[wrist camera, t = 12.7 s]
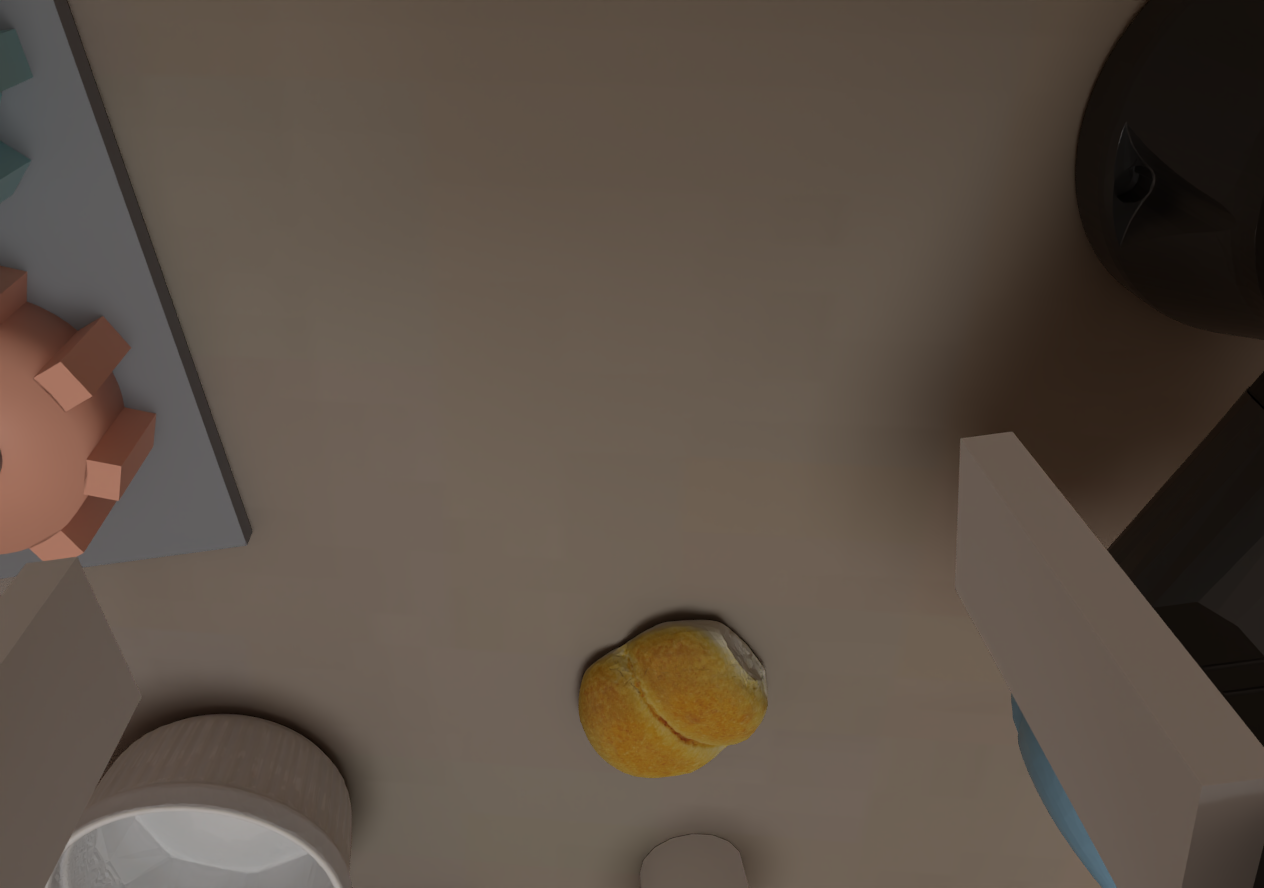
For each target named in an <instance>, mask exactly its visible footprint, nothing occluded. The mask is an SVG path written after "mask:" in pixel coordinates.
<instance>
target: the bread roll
mask: <svg viewBox="0 0 1264 888" xmlns="http://www.w3.org/2000/svg"><path fill="white" fill-rule="evenodd" d="M767 696H768V689H767V684H766V676H765V669H764V668H763V666H762V665H761V663H760V662H759V660H758V659H757V658H756V656H755V655H754V654H753V652H752V651H751V650H750V648H749V647H748V646H747V645H746V643H745V642H744V641H743V640H741V639H740V638H739V637H738V636H737V635H736V634H735V633H734V632H732V631H731V630H730V629H729V628H728V627H727V626H725V625H724V624H722V623H720V622H718V621H712V620H681V621H670V622H664V623H661V624H658V625H656V626H654V627H652V628H650V629H648V630H645V631H644V632H642V633H640V634H639V635H637V636H636V637H635V638H633V639H631V640H629V641H628V642H627V643H626V644H624V645H623V646H621V647H619V648H616V649H614V650H612V651H610V652H609V653H607V654H606V655H604V656H603V657H602V658H600V659H598V660H597V661H596V662H594V663H593V664H592V665H591V666H590V667H589V668H588V669H587V670H586V671H585V673H584V675H583V679H582V682H581V687H580V692H579V716H580V721H581V723H582V726H583V729H584V731H585V733H586V736H587V738H588V740H589V741H590V743H591V745H592V746H593V748H594V749H595V751H596V752H597V753H598V754H599V755H600V756H601V757H602V758H603V759H604V760H605V761H606V762H607V763H609V764H610V765H612V766H613V767H615V768H616V769H618V770H620V771H622V772H624V773H627V774H630V775H633V776H637V777H645V778H660V777H668V776H676V775H682V774H686V773H691V772H693V771H695V770H697V769H699V768H700V767H702V766H703V765H705V764H706V763H708V762H709V761H711V760H712V759H713V758H714V757H716V756H717V755H718V754H719V753H720V752H721V751H722V750H723V749H724V748H726V747H727V746H728V745H733V744H737V743H739V742H742V741H744V740H746V739H748V738H749V737H750V736H751V735H752V734H753V733H754V732H755V730H756V729H757V727H758V726H759V725H760V723H761V722H762V720H763V718H764V716H765V713H766V710H767V706H768V702H767Z"/></svg>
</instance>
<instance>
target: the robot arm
mask: <svg viewBox="0 0 1264 888" xmlns="http://www.w3.org/2000/svg"><path fill="white" fill-rule="evenodd" d="M1076 193H1077V201H1078V207H1079V212H1080V216H1081V220H1082V223H1083V227H1084V230H1085V232H1086V235H1087V237H1088V240H1089V242H1090V244H1091V246H1092V248H1093V250H1094V252H1095V253H1096V255H1097V256H1098V258H1099V259H1100V261H1101V263H1102V264H1103V265H1104V266H1105V268H1106V269H1107V270H1108V271H1109V273H1110V274H1111V275H1112V276H1113V277H1114V278H1115V279H1116V280H1117V281H1118V282H1120V283H1121V284H1122V285H1123V286H1125V287H1126V288H1127V289H1128V290H1130V291H1131V292H1132V293H1134V294H1135V295H1137V296H1138V297H1139V298H1141V299H1142V300H1143V301H1145V302H1146V303H1148V304H1149V305H1150V306H1152V307H1153V308H1155V309H1156V310H1158V311H1159V312H1161V313H1163V314H1165V315H1166V316H1168V317H1170V318H1172V319H1175V320H1177V321H1179V322H1182V323H1184V324H1187V325H1189V326H1192V327H1196V328H1199V329H1203V330H1207V331H1211V332H1217V333H1223V334H1229V335H1236V336H1242V337H1248V338H1255V339H1261V340H1264V0H1150V1H1149V2H1148V3H1147V4H1146V6H1145V7H1144V8H1143V9H1142V10H1141V11H1140V13H1139V14H1138V15H1137V17H1136V18H1135V19H1134V20H1133V22H1132V23H1131V24H1130V26H1129V27H1128V29H1127V30H1126V31H1125V33H1124V34H1123V36H1122V37H1121V39H1120V40H1119V42H1118V43H1117V45H1116V47H1115V48H1114V50H1113V52H1112V53H1111V55H1110V57H1109V59H1108V60H1107V62H1106V64H1105V66H1104V68H1103V70H1102V72H1101V74H1100V76H1099V78H1098V81H1097V83H1096V85H1095V87H1094V90H1093V93H1092V95H1091V98H1090V100H1089V103H1088V106H1087V110H1086V113H1085V116H1084V119H1083V124H1082V128H1081V132H1080V137H1079V143H1078V149H1077V159H1076ZM955 590H956V592H957V593H958V595H959V597H960V599H961V601H962V603H963V605H964V606H965V608H966V610H967V612H968V614H969V616H970V617H971V619H972V621H973V623H974V625H975V627H976V629H977V630H978V632H979V634H980V636H981V638H982V640H983V641H984V643H985V645H986V647H987V649H988V651H989V652H990V654H991V656H992V658H993V660H994V662H995V664H996V665H997V667H998V669H999V671H1000V673H1001V675H1002V676H1003V678H1004V680H1005V682H1006V684H1007V686H1008V687H1009V689H1010V691H1011V703H1012V710H1013V720H1014V723H1015V726H1016V728H1017V731H1018V744H1019V747H1020V751H1021V754H1022V757H1023V760H1024V762H1025V765H1026V768H1027V770H1028V772H1029V775H1030V777H1031V779H1032V781H1033V783H1034V785H1035V787H1036V790H1037V792H1038V794H1039V795H1040V797H1041V799H1042V801H1043V803H1044V805H1045V807H1046V809H1047V810H1048V812H1049V814H1050V816H1051V817H1052V819H1053V821H1054V822H1055V824H1056V825H1057V827H1058V829H1059V830H1060V832H1061V833H1062V835H1063V836H1064V837H1065V839H1066V840H1067V842H1068V843H1069V845H1070V846H1071V848H1072V849H1073V851H1074V852H1075V853H1076V855H1077V856H1078V857H1079V859H1080V860H1081V861H1082V863H1083V864H1084V865H1085V867H1086V868H1087V869H1088V871H1089V872H1090V873H1091V875H1092V876H1093V877H1094V879H1095V880H1096V881H1097V882H1098V883H1099V884H1100V886H1101V887H1102V888H1264V371H1263V373H1262V374H1261V375H1260V376H1259V377H1258V378H1257V379H1256V381H1255V382H1254V383H1253V384H1252V385H1251V386H1250V387H1249V388H1247V390H1246V391H1245V392H1244V393H1243V394H1242V395H1241V397H1240V398H1239V399H1238V400H1237V401H1236V403H1235V404H1234V405H1233V406H1232V407H1231V408H1230V410H1229V411H1228V412H1227V413H1226V414H1225V416H1224V417H1223V418H1222V419H1221V420H1220V422H1219V423H1218V424H1217V425H1216V426H1215V427H1214V429H1213V430H1212V431H1211V432H1210V433H1209V434H1208V435H1207V437H1206V438H1205V439H1204V440H1203V441H1202V442H1201V443H1200V444H1199V446H1198V447H1197V448H1196V449H1195V450H1194V451H1193V452H1192V454H1191V455H1190V456H1189V457H1188V458H1187V459H1186V460H1185V462H1184V463H1183V464H1182V465H1181V466H1180V467H1179V468H1178V469H1177V471H1176V472H1175V473H1174V474H1173V475H1172V476H1171V477H1170V479H1169V480H1168V481H1167V482H1166V483H1165V484H1164V485H1163V486H1162V488H1161V489H1160V490H1159V491H1158V492H1157V493H1156V494H1155V496H1154V497H1153V498H1152V499H1151V500H1150V501H1149V502H1148V504H1147V505H1146V506H1145V507H1144V508H1143V509H1142V510H1141V511H1140V513H1139V514H1138V515H1137V516H1136V517H1135V518H1134V519H1133V521H1132V522H1131V523H1130V524H1129V525H1128V526H1127V527H1126V528H1125V530H1124V531H1123V532H1122V533H1121V534H1120V535H1119V536H1118V538H1117V539H1116V540H1115V541H1114V542H1113V543H1112V544H1111V546H1110V547H1109V548H1108V549H1107V550H1106V548H1105V547H1104V546H1103V545H1102V543H1101V542H1100V541H1099V540H1098V538H1097V537H1096V536H1095V535H1094V533H1093V532H1092V531H1091V530H1090V528H1089V527H1088V526H1087V525H1086V523H1085V522H1084V521H1083V520H1082V518H1081V517H1080V516H1079V515H1078V513H1077V512H1076V511H1075V509H1074V508H1073V507H1072V506H1071V504H1070V503H1069V502H1068V501H1067V499H1066V498H1065V497H1064V496H1063V494H1062V493H1061V492H1060V491H1059V489H1058V488H1057V487H1056V486H1055V484H1054V483H1053V482H1052V481H1051V479H1050V478H1049V477H1048V476H1047V474H1046V473H1045V472H1044V471H1043V469H1042V468H1041V467H1040V466H1039V464H1038V463H1037V462H1036V460H1035V459H1034V458H1033V457H1032V455H1031V454H1030V453H1029V452H1028V450H1027V449H1026V448H1025V447H1024V445H1023V444H1022V443H1021V442H1020V440H1019V439H1018V438H1017V437H1016V435H1015V434H1014V433H1013V432H1005V433H997V434H990V435H982V436H975V437H967V438H960V463H959V491H958V518H957V545H956V573H955ZM141 698H142V695H141V693H140V691H139V689H138V686H137V684H136V682H135V680H134V678H133V676H132V674H131V671H130V669H129V667H128V665H127V663H126V661H125V659H124V656H123V654H122V652H121V650H120V648H119V646H118V643H117V641H116V639H115V637H114V635H113V633H112V631H111V628H110V626H109V624H108V622H107V620H106V618H105V615H104V613H103V611H102V609H101V607H100V605H99V603H98V600H97V598H96V596H95V594H94V592H93V590H92V587H91V585H90V583H89V581H88V579H87V577H86V575H85V572H84V570H83V568H82V566H81V564H80V562H79V559H78V557H71V558H63V559H56V560H48V561H41V562H33V563H26V564H25V565H24V567H23V568H22V569H21V571H20V572H19V573H18V575H17V576H16V577H15V578H14V580H13V581H12V582H11V584H10V585H9V586H8V587H7V589H6V590H5V591H4V593H3V594H2V595H1V596H0V888H45V886H46V884H47V882H48V880H49V878H50V876H51V874H52V872H53V870H54V868H55V866H56V864H57V862H58V860H59V858H60V857H61V855H62V853H63V851H64V849H65V847H66V845H67V843H68V841H69V839H70V837H71V835H72V833H73V831H74V829H75V827H76V825H77V823H78V821H79V819H80V817H81V815H82V813H83V811H84V809H85V808H86V806H87V804H88V802H89V800H90V798H91V796H92V794H93V792H94V790H95V788H96V786H97V784H98V782H99V780H100V778H101V776H102V774H103V772H104V770H105V768H106V766H107V764H108V762H109V760H110V758H111V757H112V755H113V753H114V751H115V749H116V747H117V745H118V743H119V741H120V739H121V737H122V735H123V733H124V731H125V729H126V727H127V725H128V723H129V721H130V719H131V717H132V715H133V713H134V711H135V709H136V708H137V706H138V704H139V702H140V700H141Z"/></svg>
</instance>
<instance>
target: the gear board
mask: <svg viewBox="0 0 1264 888" xmlns="http://www.w3.org/2000/svg"><path fill="white" fill-rule="evenodd" d="M9 29H15V30H16V32H17V35H18V38H19V40H20V43H21V45H22V48H23V51H24V53H25V56H26V59H27V61H28V64H29V67H30V69H31V72H32V75H33V78H30V79H28V80H26V81H24V82H22V83H19V84H17V85H15V86H13V87H11V88H8V89H6V90H4V91H2V92H1V93H2V96H1V102H0V141H1V142H3V143H5V144H6V145H8V146H9V147H11V148H13V149H14V150H16V151H17V152H19V153H21V154H22V155H24V156H25V157H27V158H29V159H30V160H31V162H30V164H29V166H28V168H27V169H26V171H25V173H24V175H23V177H22V179H21V180H20V182H19V184H18V186H17V188H16V190H15V191H14V193H13V195H11V196H10V197H8V198H7V199H5V200H4V201H2V202H1V203H0V578H8V577H15V576H17V575H18V573H19V572H20V571H21V569H22V568H23V567H24V565H25V564H26V563H33V562H41V561H48V560H56V559H63V558H71V557H78V559H79V562H80V564H81V566H82V567H90V566H97V565H105V564H112V563H120V562H127V561H134V560H142V559H149V558H157V557H164V556H172V555H179V554H187V553H194V552H202V551H209V550H217V549H224V548H231V547H239V546H246V545H247V544H248V541H249V539H250V537H251V534H252V529H251V527H250V524H249V521H248V518H247V515H246V512H245V509H244V507H243V504H242V501H241V498H240V495H239V492H238V489H237V487H236V484H235V481H234V478H233V475H232V472H231V469H230V466H229V464H228V461H227V458H226V455H225V452H224V449H223V446H222V444H221V441H220V438H219V435H218V432H217V429H216V426H215V424H214V421H213V418H212V415H211V412H210V409H209V406H208V403H207V401H206V398H205V395H204V392H203V389H202V386H201V383H200V381H199V378H198V375H197V372H196V369H195V366H194V363H193V361H192V358H191V355H190V352H189V349H188V346H187V343H186V340H185V338H184V335H183V332H182V329H181V326H180V323H179V320H178V318H177V315H176V312H175V309H174V306H173V303H172V300H171V298H170V295H169V292H168V289H167V286H166V283H165V280H164V277H163V275H162V272H161V269H160V266H159V263H158V260H157V257H156V255H155V252H154V249H153V246H152V243H151V240H150V237H149V235H148V232H147V229H146V226H145V223H144V220H143V217H142V215H141V212H140V209H139V206H138V203H137V200H136V197H135V194H134V192H133V189H132V186H131V183H130V180H129V177H128V174H127V172H126V169H125V166H124V163H123V160H122V157H121V154H120V152H119V149H118V146H117V143H116V140H115V137H114V134H113V131H112V129H111V126H110V123H109V120H108V117H107V114H106V111H105V109H104V106H103V103H102V100H101V97H100V94H99V91H98V89H97V86H96V83H95V80H94V77H93V74H92V71H91V68H90V66H89V63H88V60H87V57H86V54H85V51H84V48H83V46H82V43H81V40H80V37H79V34H78V31H77V28H76V26H75V23H74V20H73V17H72V14H71V11H70V8H69V5H68V3H67V0H0V31H1V30H9Z"/></svg>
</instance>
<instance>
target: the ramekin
mask: <svg viewBox="0 0 1264 888" xmlns="http://www.w3.org/2000/svg"><path fill="white" fill-rule="evenodd" d="M351 840H352V808H351V803H350V799H349V793H348V790H347V788H346V786H345V782H344V779H343V777H342V776H341V774H340V773H339V771H338V769H337V768H336V766H335V765H334V764H333V763H332V761H331V760H330V759H329V758H328V757H327V756H326V755H325V754H324V753H323V752H322V750H321V749H319V748H318V747H317V746H316V745H315V744H314V743H313V742H311V741H310V740H309V739H307V738H306V737H304V736H303V735H301V734H299V733H297V732H296V731H294V730H292V729H290V728H288V727H285V726H283V725H280V724H278V723H275V722H272V721H269V720H265V719H261V718H257V717H252V716H246V715H237V714H210V715H201V716H195V717H190V718H187V719H183V720H180V721H175V722H173V723H171V724H168V725H164V726H161V727H159V728H157V729H155V730H153V731H151V732H148V733H146V734H145V735H144V736H142V737H141V738H140V739H138V740H136V741H135V742H134V743H132V744H131V745H130V746H129V747H128V748H127V749H126V750H125V751H124V752H123V753H122V754H121V755H120V756H119V757H118V758H117V760H116V761H115V762H114V763H113V765H112V766H111V767H110V769H109V770H108V771H107V773H106V774H105V775H104V777H103V778H102V779H101V781H100V782H99V784H98V785H97V787H96V788H95V790H94V792H93V794H92V796H91V798H90V800H89V802H88V804H87V806H86V808H85V809H84V811H83V813H82V815H81V817H80V819H79V821H78V823H77V825H76V827H75V829H74V831H73V833H72V835H71V837H70V839H69V841H68V843H67V845H66V847H65V849H64V851H63V853H62V855H61V857H60V858H59V860H58V862H57V864H56V866H55V868H54V870H53V872H52V874H51V876H50V878H49V880H48V882H47V884H46V886H45V888H352V882H351V877H350V873H349V871H350V858H351Z"/></svg>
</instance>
